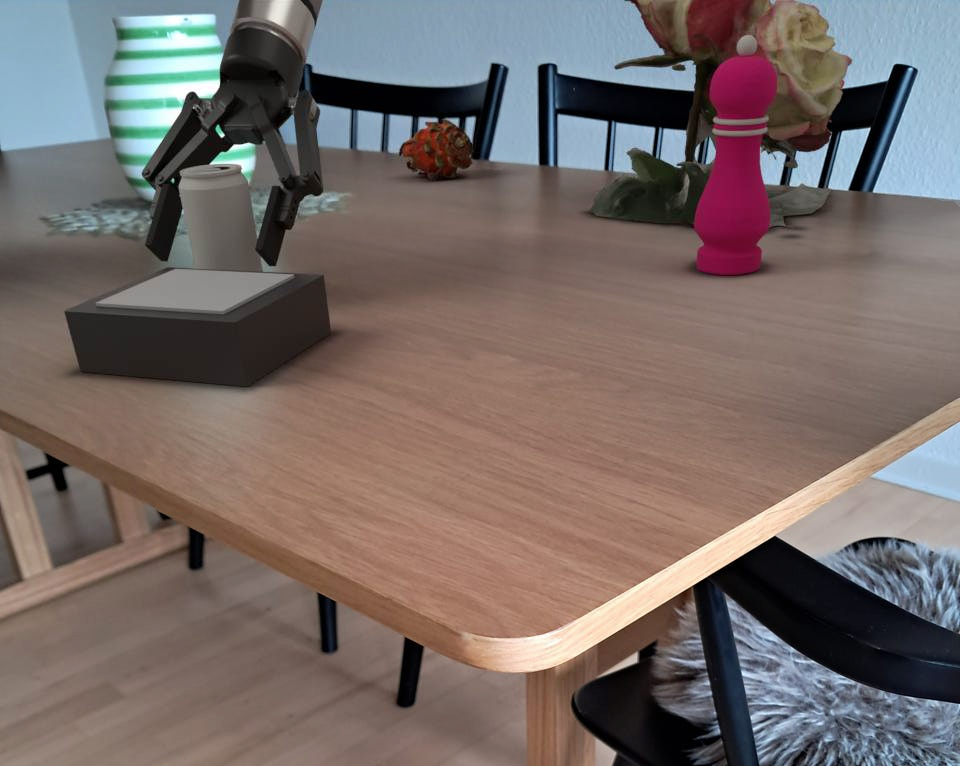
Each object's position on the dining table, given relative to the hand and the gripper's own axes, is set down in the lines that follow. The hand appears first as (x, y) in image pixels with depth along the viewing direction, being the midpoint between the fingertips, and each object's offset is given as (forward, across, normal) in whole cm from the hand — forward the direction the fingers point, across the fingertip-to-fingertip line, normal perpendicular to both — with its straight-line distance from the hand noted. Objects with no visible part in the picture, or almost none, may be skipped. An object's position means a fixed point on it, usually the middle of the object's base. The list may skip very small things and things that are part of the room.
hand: (209, 255), depth 95 cm
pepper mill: (-13, -45, -20) cm, 51 cm away
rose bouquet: (-34, -40, -41) cm, 66 cm away
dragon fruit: (-46, +6, -53) cm, 70 cm away
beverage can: (+2, 0, -5) cm, 6 cm away
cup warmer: (+12, -7, +5) cm, 15 cm away
